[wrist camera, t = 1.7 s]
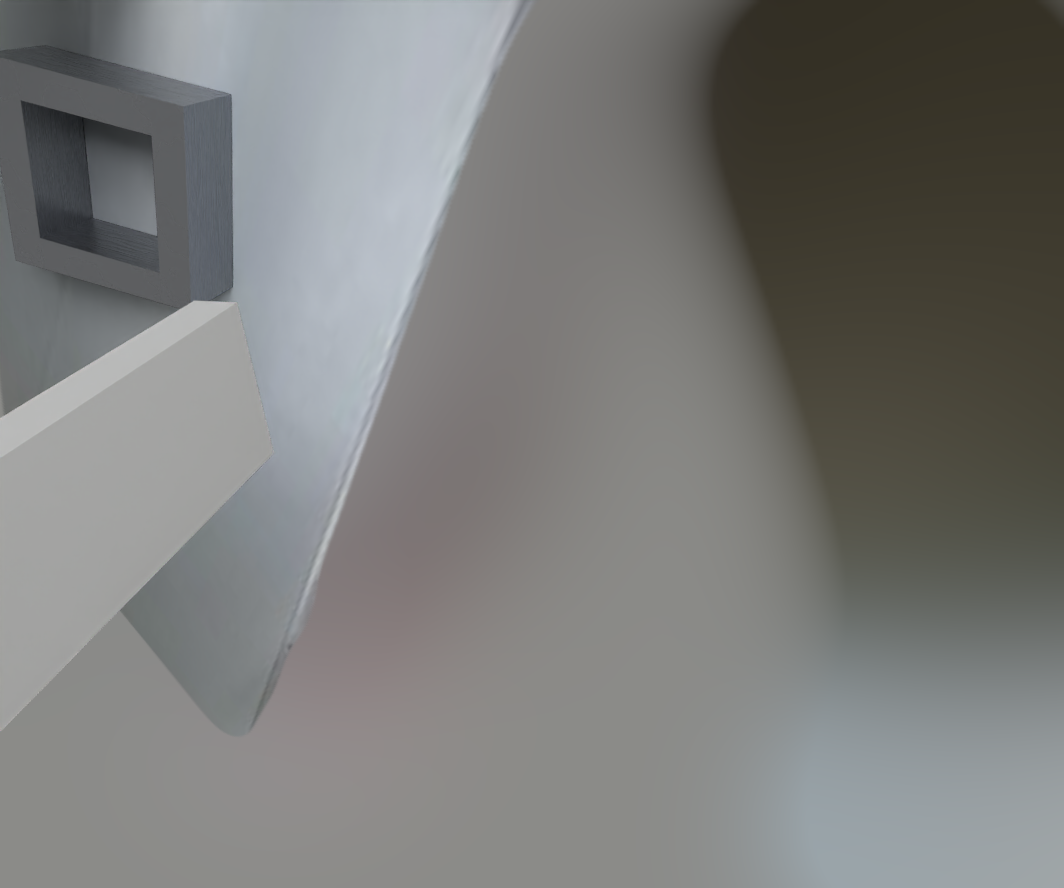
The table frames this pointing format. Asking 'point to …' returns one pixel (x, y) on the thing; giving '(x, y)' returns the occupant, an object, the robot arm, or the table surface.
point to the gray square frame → (63, 185)
